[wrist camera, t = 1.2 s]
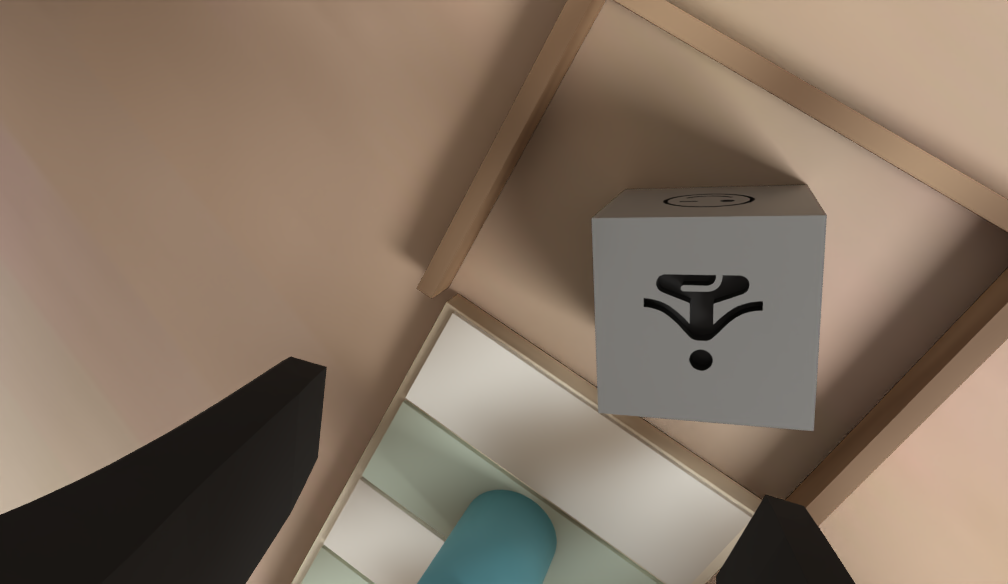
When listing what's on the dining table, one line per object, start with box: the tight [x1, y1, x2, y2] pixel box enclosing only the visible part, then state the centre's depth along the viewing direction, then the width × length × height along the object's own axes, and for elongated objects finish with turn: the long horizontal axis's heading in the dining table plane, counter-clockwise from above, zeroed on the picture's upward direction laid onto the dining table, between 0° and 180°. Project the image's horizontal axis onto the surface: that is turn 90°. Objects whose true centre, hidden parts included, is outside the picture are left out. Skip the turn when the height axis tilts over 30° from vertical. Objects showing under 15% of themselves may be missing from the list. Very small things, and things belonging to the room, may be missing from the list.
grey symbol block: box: [592, 185, 827, 431], centre depth 18 cm, size 5×5×5 cm
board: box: [291, 0, 1008, 584], centre depth 23 cm, size 14×31×1 cm, turn 151°
